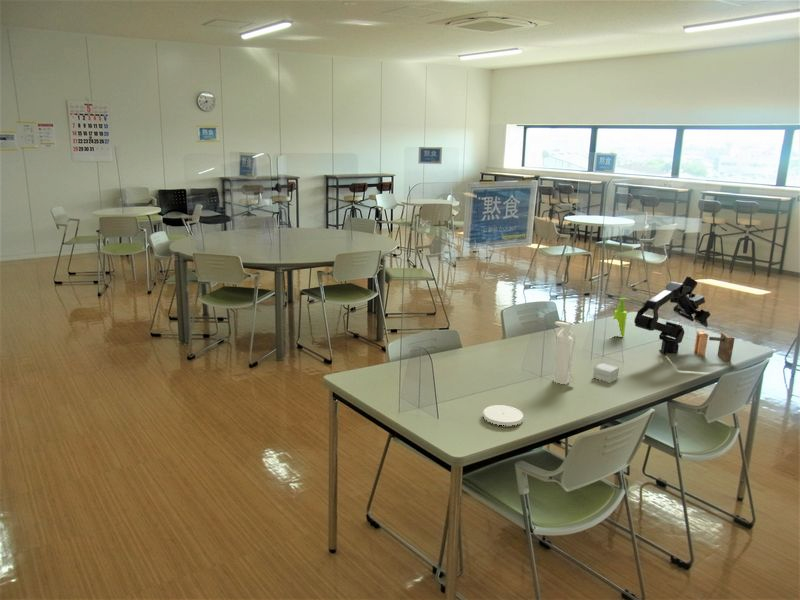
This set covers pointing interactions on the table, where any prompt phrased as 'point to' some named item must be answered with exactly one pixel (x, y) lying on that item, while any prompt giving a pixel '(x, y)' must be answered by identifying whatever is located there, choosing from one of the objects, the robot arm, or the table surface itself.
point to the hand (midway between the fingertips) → (699, 323)
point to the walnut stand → (724, 346)
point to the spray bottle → (564, 354)
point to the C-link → (701, 343)
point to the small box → (606, 372)
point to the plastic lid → (503, 415)
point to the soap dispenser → (621, 315)
